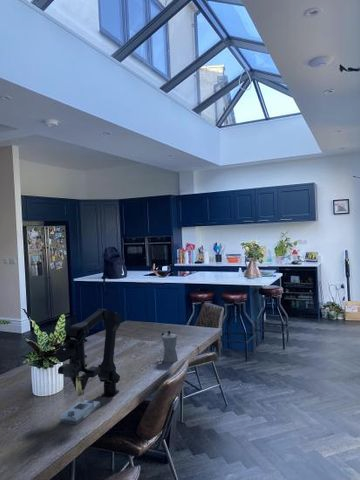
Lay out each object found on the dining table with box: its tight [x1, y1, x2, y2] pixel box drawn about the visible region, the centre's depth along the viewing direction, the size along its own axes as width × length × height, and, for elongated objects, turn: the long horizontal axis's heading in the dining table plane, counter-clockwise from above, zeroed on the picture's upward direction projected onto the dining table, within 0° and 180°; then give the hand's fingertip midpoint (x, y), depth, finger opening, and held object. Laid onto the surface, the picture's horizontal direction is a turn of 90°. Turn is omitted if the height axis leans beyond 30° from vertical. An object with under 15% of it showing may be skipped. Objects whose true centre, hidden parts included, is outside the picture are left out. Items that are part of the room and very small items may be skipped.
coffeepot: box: [161, 330, 178, 364], centre depth 229 cm, size 15×9×18 cm, turn 33°
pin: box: [75, 374, 85, 397], centre depth 165 cm, size 3×3×8 cm
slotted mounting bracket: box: [59, 399, 101, 426], centre depth 165 cm, size 18×8×4 cm, turn 159°
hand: (80, 389), depth 165 cm, fingers closed on pin, 3 cm apart
